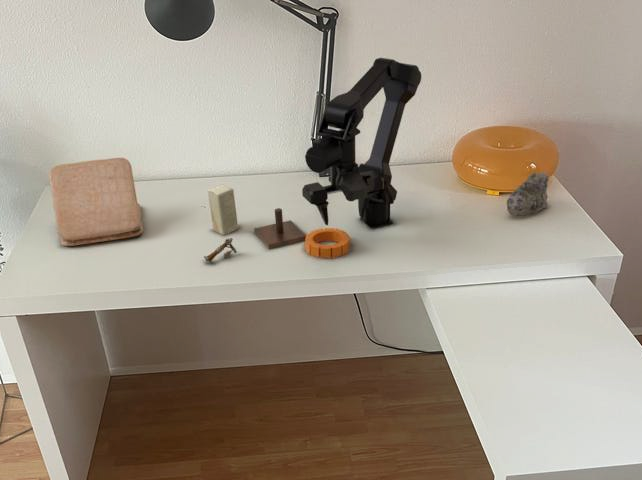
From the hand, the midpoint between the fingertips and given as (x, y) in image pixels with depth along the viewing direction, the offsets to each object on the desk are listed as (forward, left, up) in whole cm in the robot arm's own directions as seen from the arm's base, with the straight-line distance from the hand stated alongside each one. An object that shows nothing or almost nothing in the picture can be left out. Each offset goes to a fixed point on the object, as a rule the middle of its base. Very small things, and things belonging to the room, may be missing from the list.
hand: (343, 220), depth 182 cm
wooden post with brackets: (+30, -7, -6) cm, 31 cm away
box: (+24, -21, -6) cm, 32 cm away
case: (+52, -38, -6) cm, 64 cm away
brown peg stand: (+13, -11, -6) cm, 18 cm away
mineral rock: (-49, +5, -6) cm, 50 cm away
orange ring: (+5, 0, -6) cm, 8 cm away
